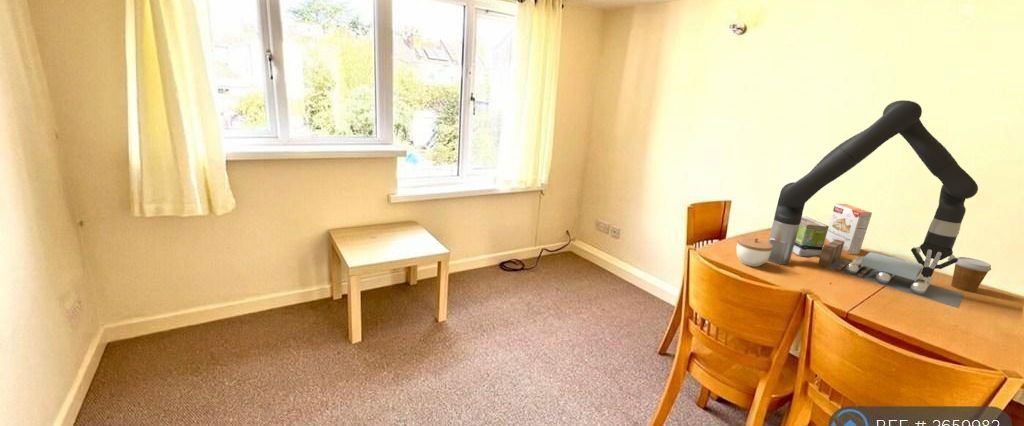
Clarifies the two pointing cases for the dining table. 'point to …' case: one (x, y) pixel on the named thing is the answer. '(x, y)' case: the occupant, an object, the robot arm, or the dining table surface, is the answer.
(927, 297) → the mat
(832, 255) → the wooden stops
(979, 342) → the dining table surface
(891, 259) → the slab
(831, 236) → the cracker box
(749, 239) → the lidded bowl
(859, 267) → the roller
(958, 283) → the disposable coffee cup
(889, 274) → the bed rollers
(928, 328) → the dining table surface
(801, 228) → the tea box
